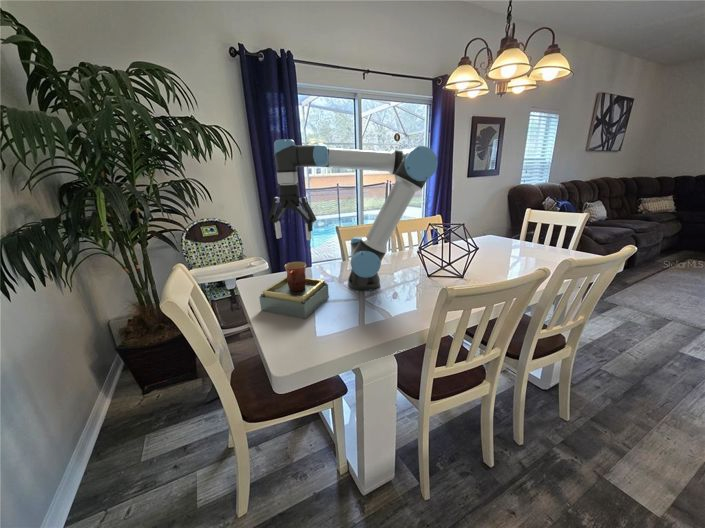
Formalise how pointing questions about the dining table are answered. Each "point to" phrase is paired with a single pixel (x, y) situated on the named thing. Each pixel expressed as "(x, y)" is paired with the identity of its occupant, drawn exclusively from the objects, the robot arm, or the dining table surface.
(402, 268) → the dining table surface
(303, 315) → the yellow rimmed grey box
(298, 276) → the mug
